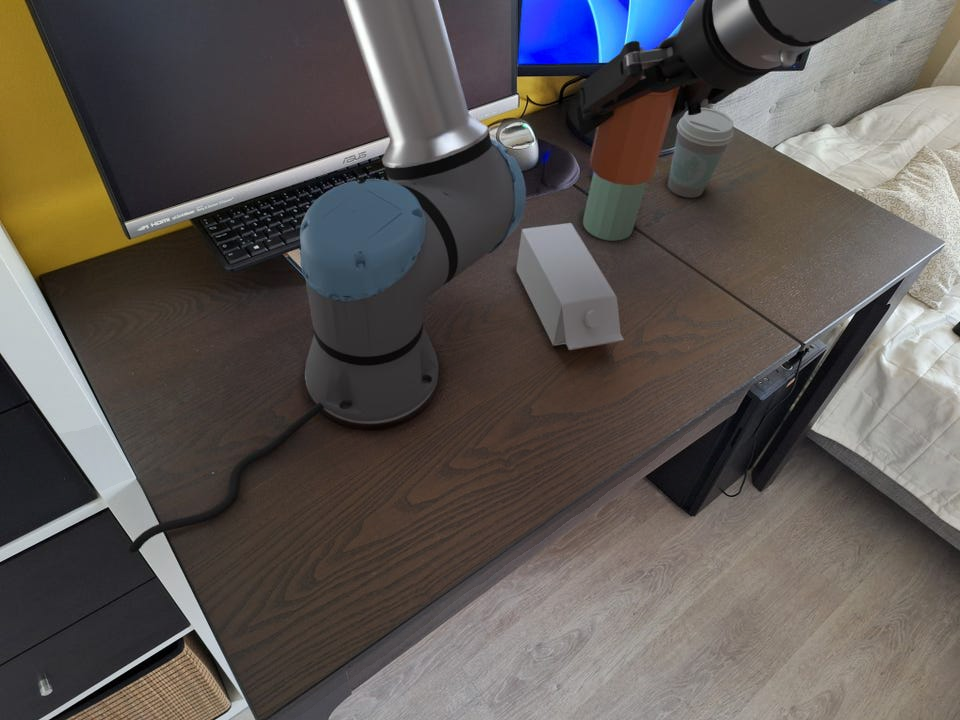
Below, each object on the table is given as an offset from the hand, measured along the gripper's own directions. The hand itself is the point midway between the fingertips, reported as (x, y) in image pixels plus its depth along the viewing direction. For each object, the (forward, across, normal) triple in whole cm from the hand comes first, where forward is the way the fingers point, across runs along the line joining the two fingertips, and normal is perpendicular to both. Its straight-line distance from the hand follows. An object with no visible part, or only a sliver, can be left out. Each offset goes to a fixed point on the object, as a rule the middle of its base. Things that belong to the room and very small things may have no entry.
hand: (615, 119), depth 70 cm
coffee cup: (+35, +29, -3) cm, 45 cm away
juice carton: (+22, -2, -10) cm, 25 cm away
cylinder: (0, 0, -5) cm, 5 cm away
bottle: (+30, +12, -8) cm, 33 cm away
